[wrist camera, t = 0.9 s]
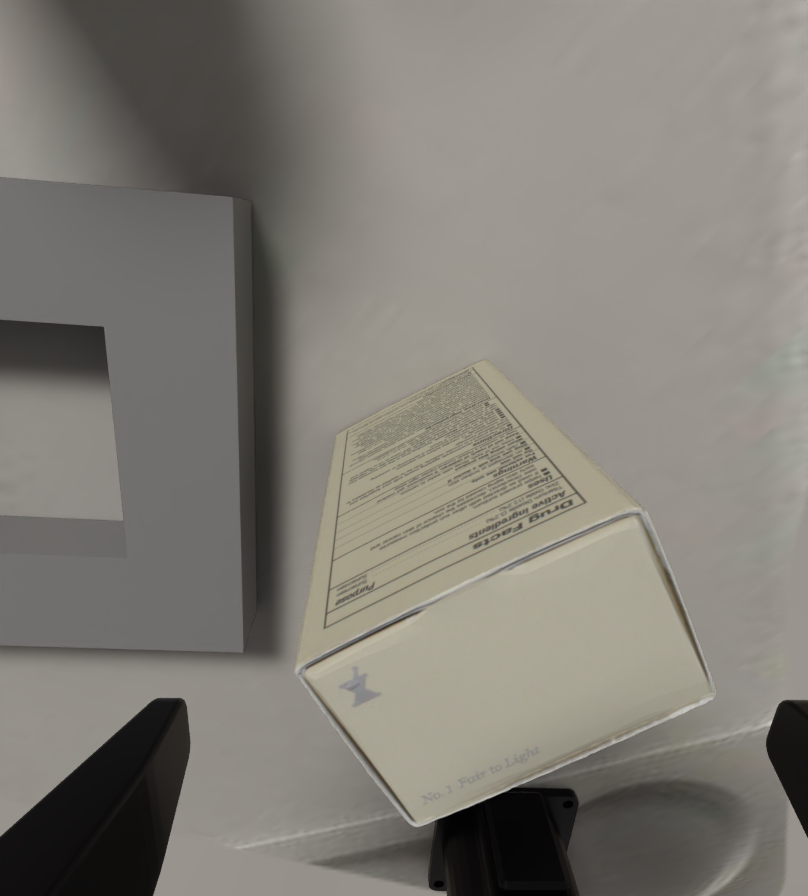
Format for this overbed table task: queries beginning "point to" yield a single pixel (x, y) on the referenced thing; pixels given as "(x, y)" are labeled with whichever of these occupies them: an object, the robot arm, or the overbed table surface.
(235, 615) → the socket holder
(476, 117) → the overbed table surface
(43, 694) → the overbed table surface
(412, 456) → the skincare box
